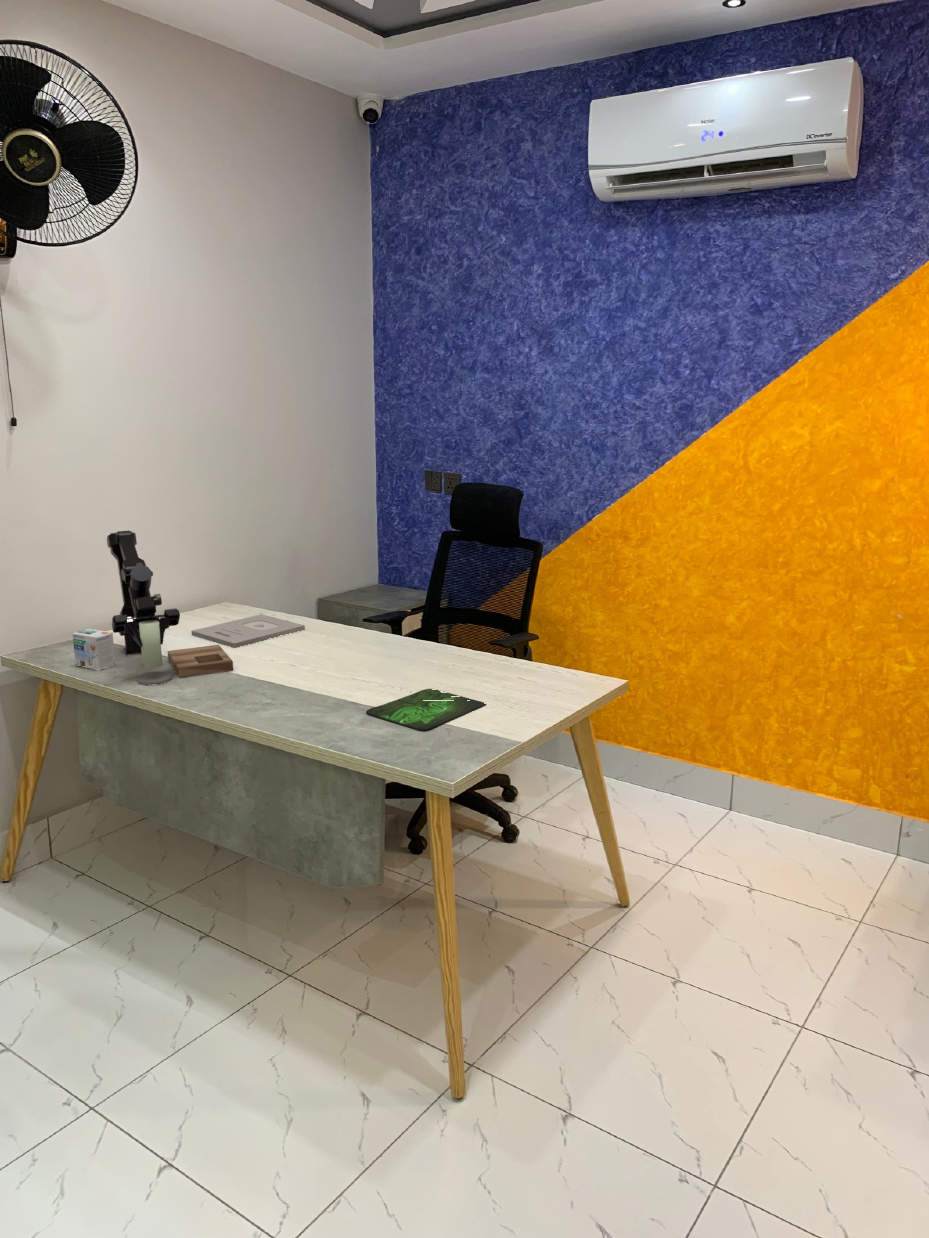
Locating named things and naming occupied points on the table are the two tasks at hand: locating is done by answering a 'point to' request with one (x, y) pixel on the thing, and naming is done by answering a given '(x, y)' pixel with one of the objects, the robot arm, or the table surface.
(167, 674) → the coaster
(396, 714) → the mouse mat
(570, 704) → the table surface
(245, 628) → the award plaque
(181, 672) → the puzzle board
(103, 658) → the light bulb box
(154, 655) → the peg
